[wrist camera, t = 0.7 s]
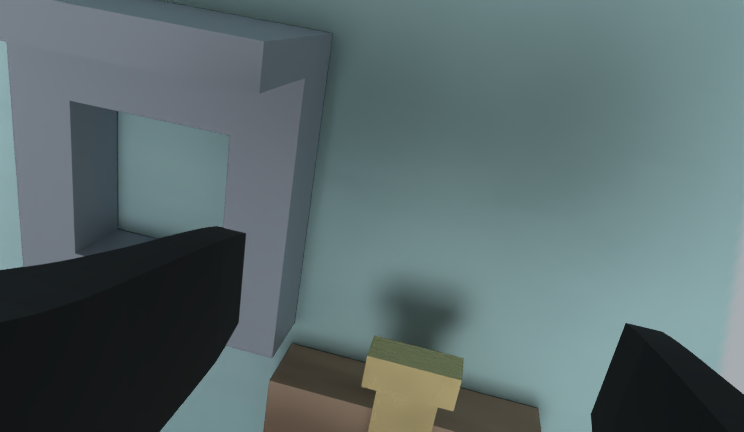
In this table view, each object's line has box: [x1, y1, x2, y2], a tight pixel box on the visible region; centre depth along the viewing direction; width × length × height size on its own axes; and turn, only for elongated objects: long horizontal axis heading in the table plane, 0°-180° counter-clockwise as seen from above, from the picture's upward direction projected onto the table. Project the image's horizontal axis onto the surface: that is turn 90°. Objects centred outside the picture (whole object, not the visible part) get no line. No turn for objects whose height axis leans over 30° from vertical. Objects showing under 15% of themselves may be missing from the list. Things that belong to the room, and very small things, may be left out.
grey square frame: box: [0, 0, 333, 358], centre depth 18 cm, size 11×10×6 cm
